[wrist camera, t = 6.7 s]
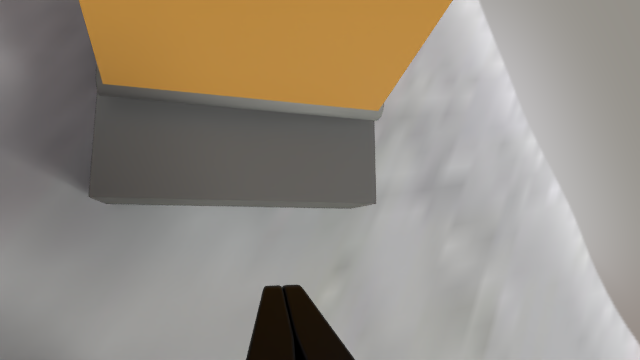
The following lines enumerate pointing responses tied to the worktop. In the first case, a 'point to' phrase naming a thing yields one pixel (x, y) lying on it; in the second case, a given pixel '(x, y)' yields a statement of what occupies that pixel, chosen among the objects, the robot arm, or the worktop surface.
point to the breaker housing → (228, 156)
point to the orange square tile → (259, 51)
